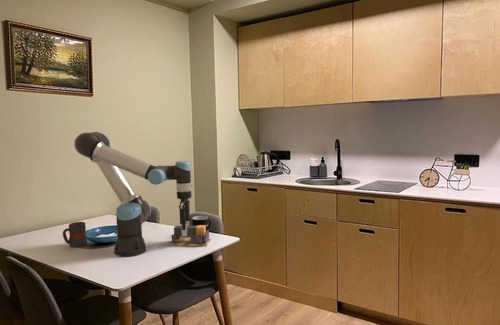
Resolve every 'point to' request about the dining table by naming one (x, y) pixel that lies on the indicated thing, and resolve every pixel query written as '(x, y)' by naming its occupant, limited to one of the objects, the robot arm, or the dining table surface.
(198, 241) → the grey block assembly
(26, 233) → the dining table surface
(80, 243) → the mug
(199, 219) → the mug
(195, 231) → the cable bar
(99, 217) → the dining table surface
